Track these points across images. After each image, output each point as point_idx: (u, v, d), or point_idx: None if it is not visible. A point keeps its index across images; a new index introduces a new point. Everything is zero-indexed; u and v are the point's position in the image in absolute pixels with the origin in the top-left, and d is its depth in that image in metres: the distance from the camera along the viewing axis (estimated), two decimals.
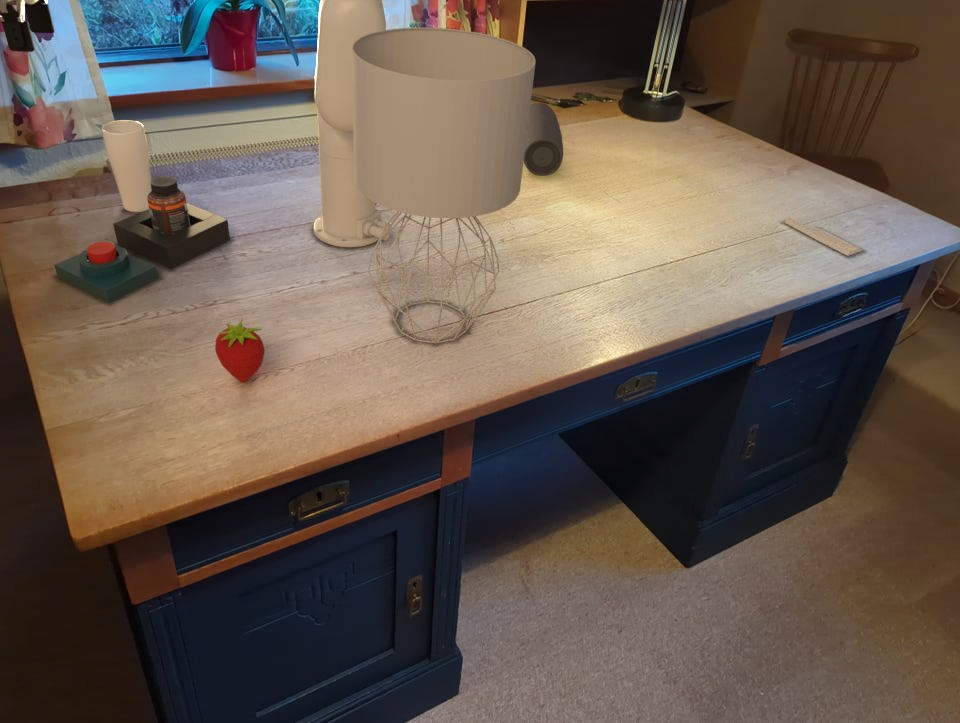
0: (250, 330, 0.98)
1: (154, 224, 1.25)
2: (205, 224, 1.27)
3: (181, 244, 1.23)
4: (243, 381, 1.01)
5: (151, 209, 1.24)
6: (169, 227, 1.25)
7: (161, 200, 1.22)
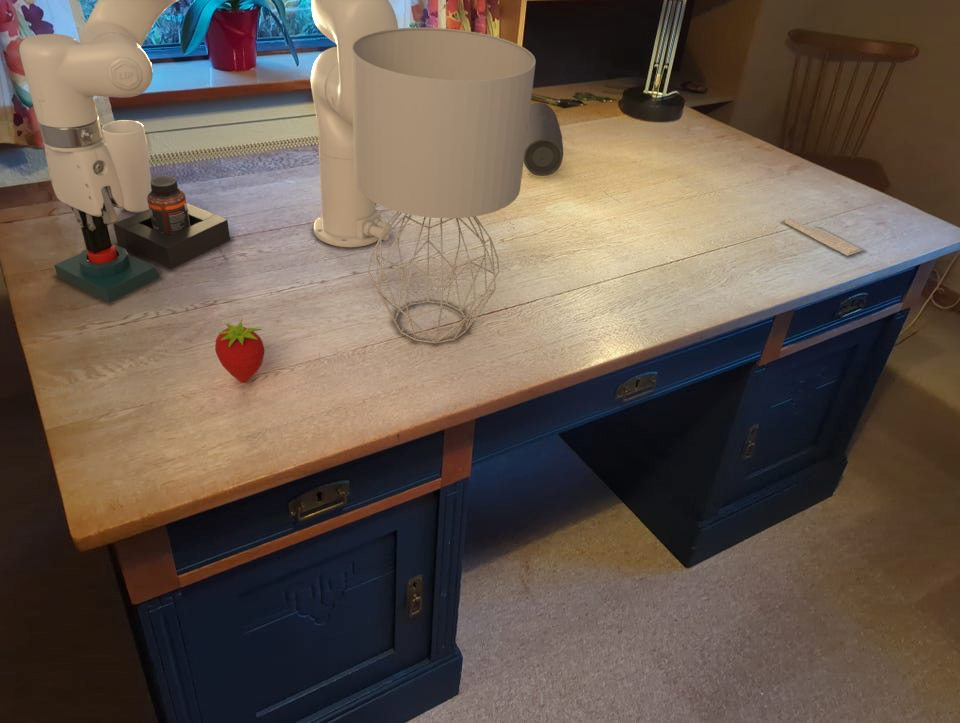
0: (250, 330, 0.98)
1: (154, 224, 1.25)
2: (205, 224, 1.27)
3: (181, 244, 1.23)
4: (243, 381, 1.01)
5: (151, 209, 1.24)
6: (169, 227, 1.25)
7: (161, 200, 1.22)
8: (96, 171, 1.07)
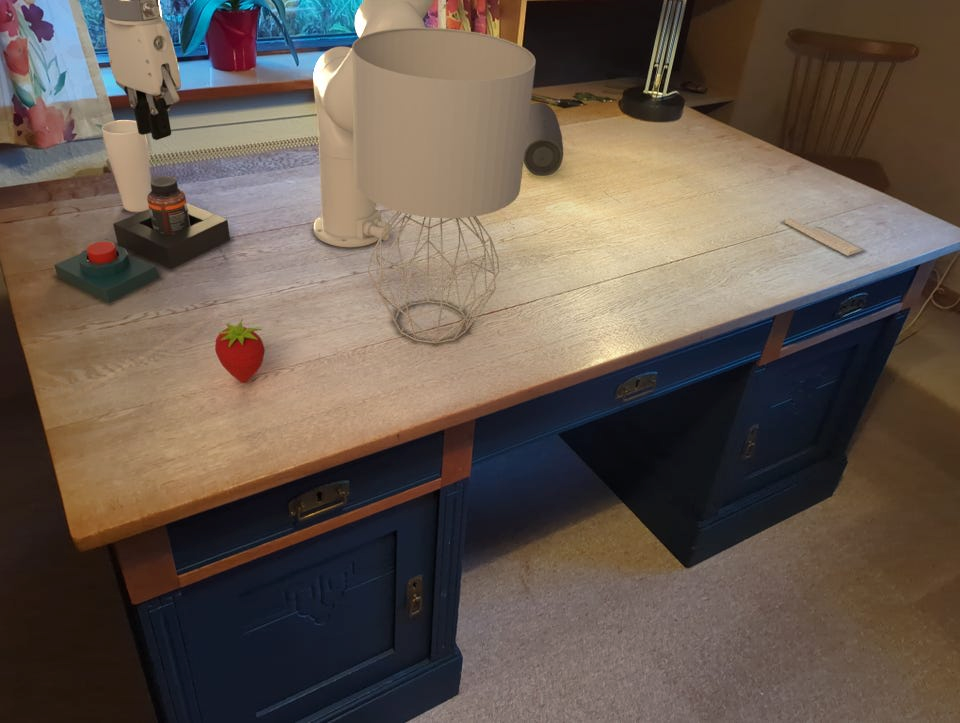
0: (250, 330, 0.98)
1: (154, 224, 1.25)
2: (205, 224, 1.27)
3: (181, 244, 1.23)
4: (243, 381, 1.01)
5: (151, 209, 1.24)
6: (169, 227, 1.25)
7: (161, 200, 1.22)
8: (156, 48, 1.09)
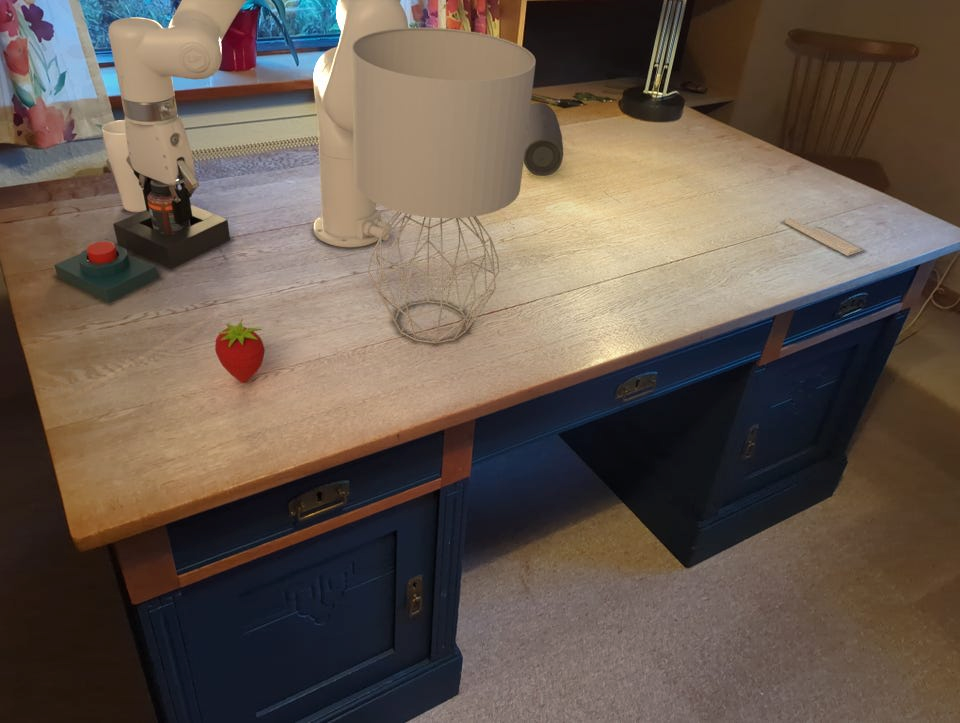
0: (250, 330, 0.98)
1: (154, 224, 1.25)
2: (205, 224, 1.27)
3: (181, 244, 1.23)
4: (243, 381, 1.01)
5: (151, 209, 1.23)
6: (169, 228, 1.25)
7: (161, 200, 1.22)
8: (172, 143, 1.17)
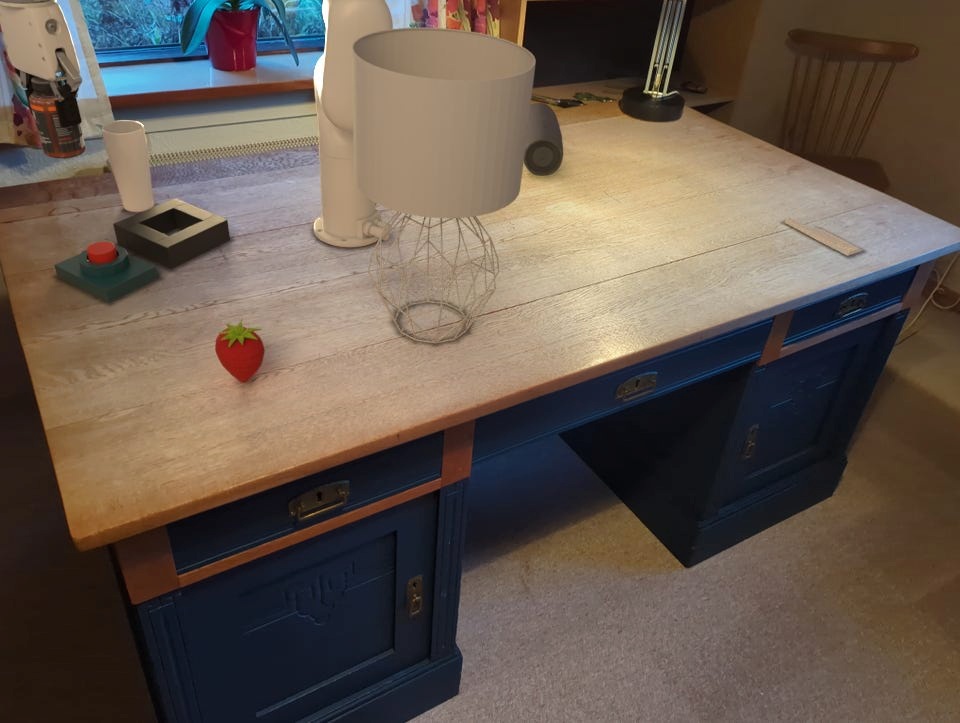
0: (250, 330, 0.98)
1: (38, 128, 1.13)
2: (205, 224, 1.27)
3: (181, 244, 1.23)
4: (243, 381, 1.01)
5: (33, 110, 1.12)
6: (54, 132, 1.13)
7: (43, 99, 1.10)
8: (49, 31, 1.05)
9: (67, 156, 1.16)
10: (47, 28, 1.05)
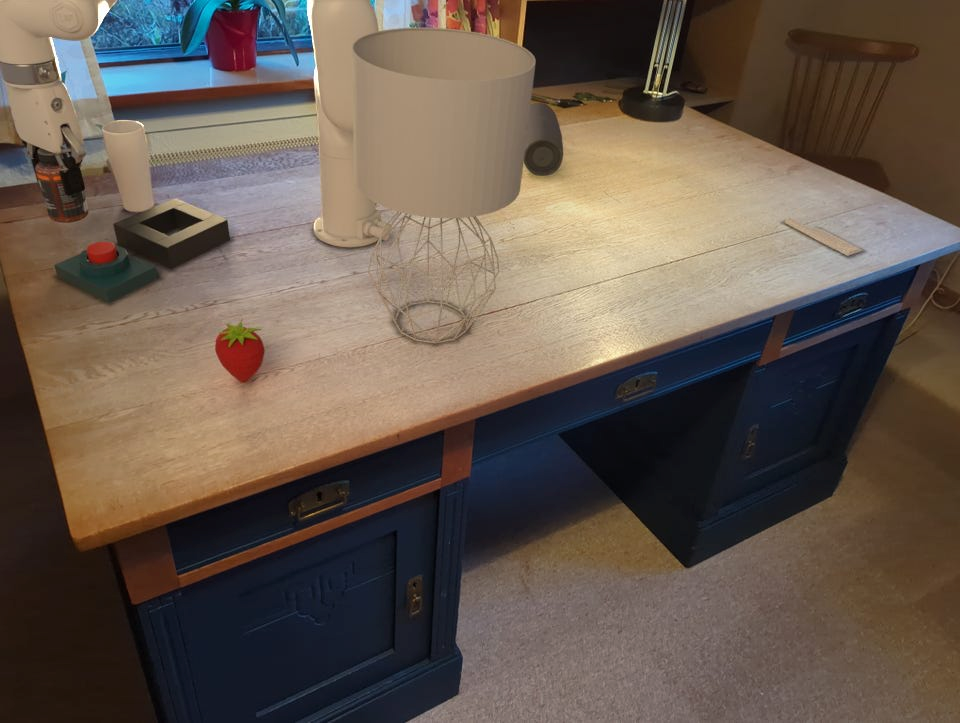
0: (250, 330, 0.98)
1: (44, 195, 1.20)
2: (205, 224, 1.27)
3: (181, 244, 1.23)
4: (243, 381, 1.01)
5: (39, 179, 1.18)
6: (59, 199, 1.19)
7: (48, 170, 1.17)
8: (55, 109, 1.12)
9: (71, 220, 1.22)
10: (53, 106, 1.11)
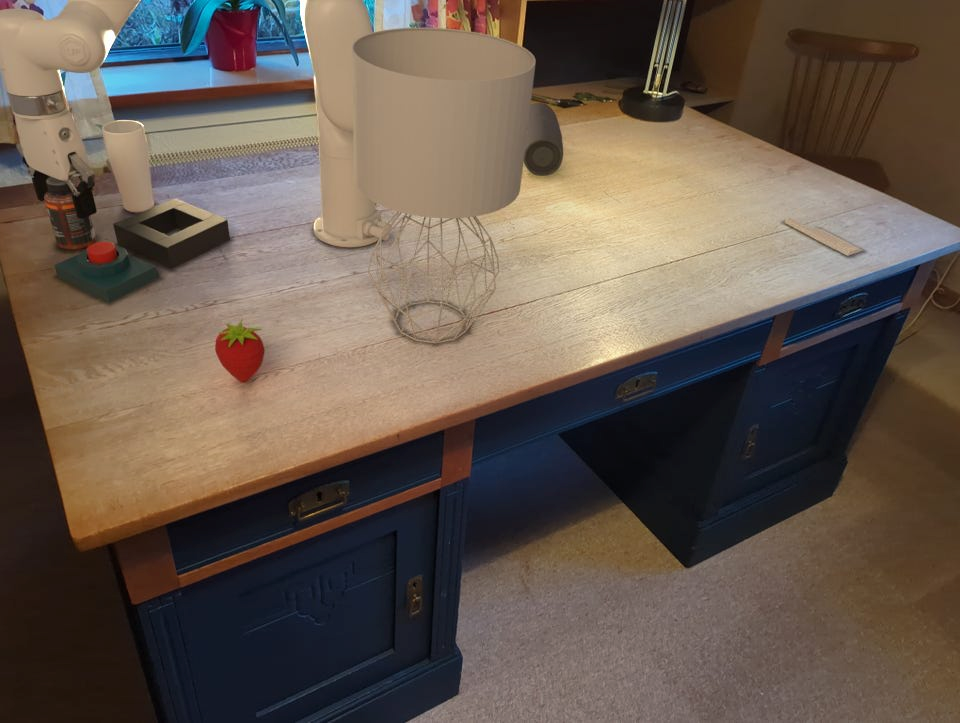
0: (250, 330, 0.98)
1: (52, 224, 1.23)
2: (205, 224, 1.27)
3: (181, 244, 1.23)
4: (243, 381, 1.01)
5: (48, 208, 1.21)
6: (67, 227, 1.22)
7: (57, 199, 1.20)
8: (62, 138, 1.14)
9: (79, 248, 1.25)
10: (60, 135, 1.14)
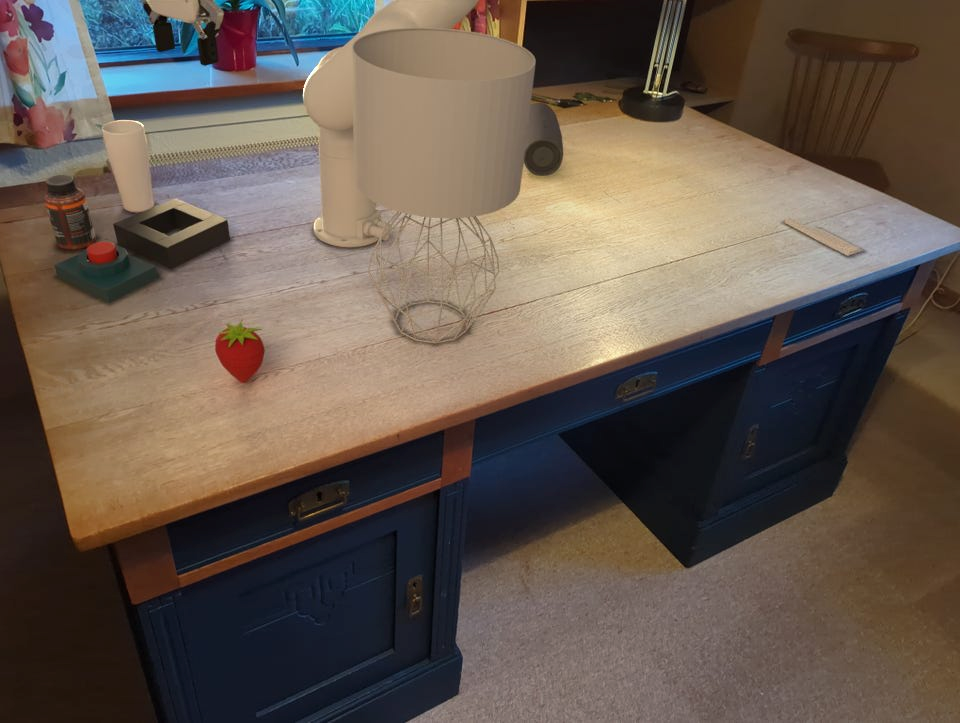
0: (250, 330, 0.98)
1: (52, 224, 1.23)
2: (205, 224, 1.27)
3: (181, 244, 1.23)
4: (243, 381, 1.01)
5: (48, 208, 1.21)
6: (67, 227, 1.22)
7: (57, 199, 1.20)
8: None
9: (79, 248, 1.25)
10: None
